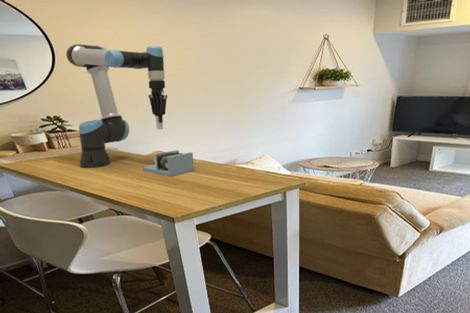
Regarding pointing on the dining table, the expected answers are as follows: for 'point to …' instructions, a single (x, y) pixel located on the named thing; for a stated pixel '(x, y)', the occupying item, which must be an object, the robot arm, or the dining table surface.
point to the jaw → (160, 155)
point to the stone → (165, 162)
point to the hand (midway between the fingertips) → (159, 129)
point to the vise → (174, 165)
